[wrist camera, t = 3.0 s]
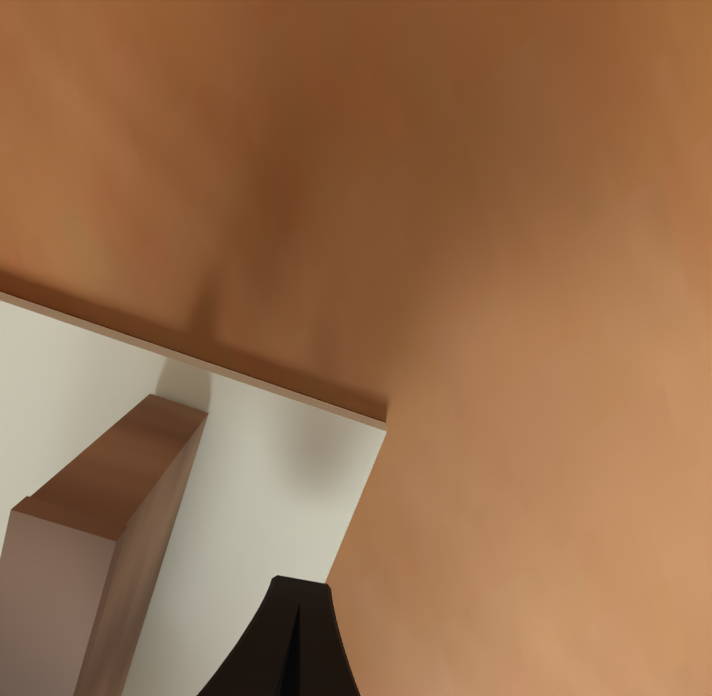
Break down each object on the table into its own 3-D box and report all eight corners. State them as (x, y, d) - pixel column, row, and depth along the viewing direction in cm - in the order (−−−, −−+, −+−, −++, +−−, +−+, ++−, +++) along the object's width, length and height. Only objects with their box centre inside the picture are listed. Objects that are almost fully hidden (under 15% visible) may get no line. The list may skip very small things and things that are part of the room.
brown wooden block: (121, 698, 16) (5, 938, 10) (68, 683, 16) (-78, 919, 10) (210, 413, 13) (115, 541, 8) (148, 392, 13) (10, 509, 8)
